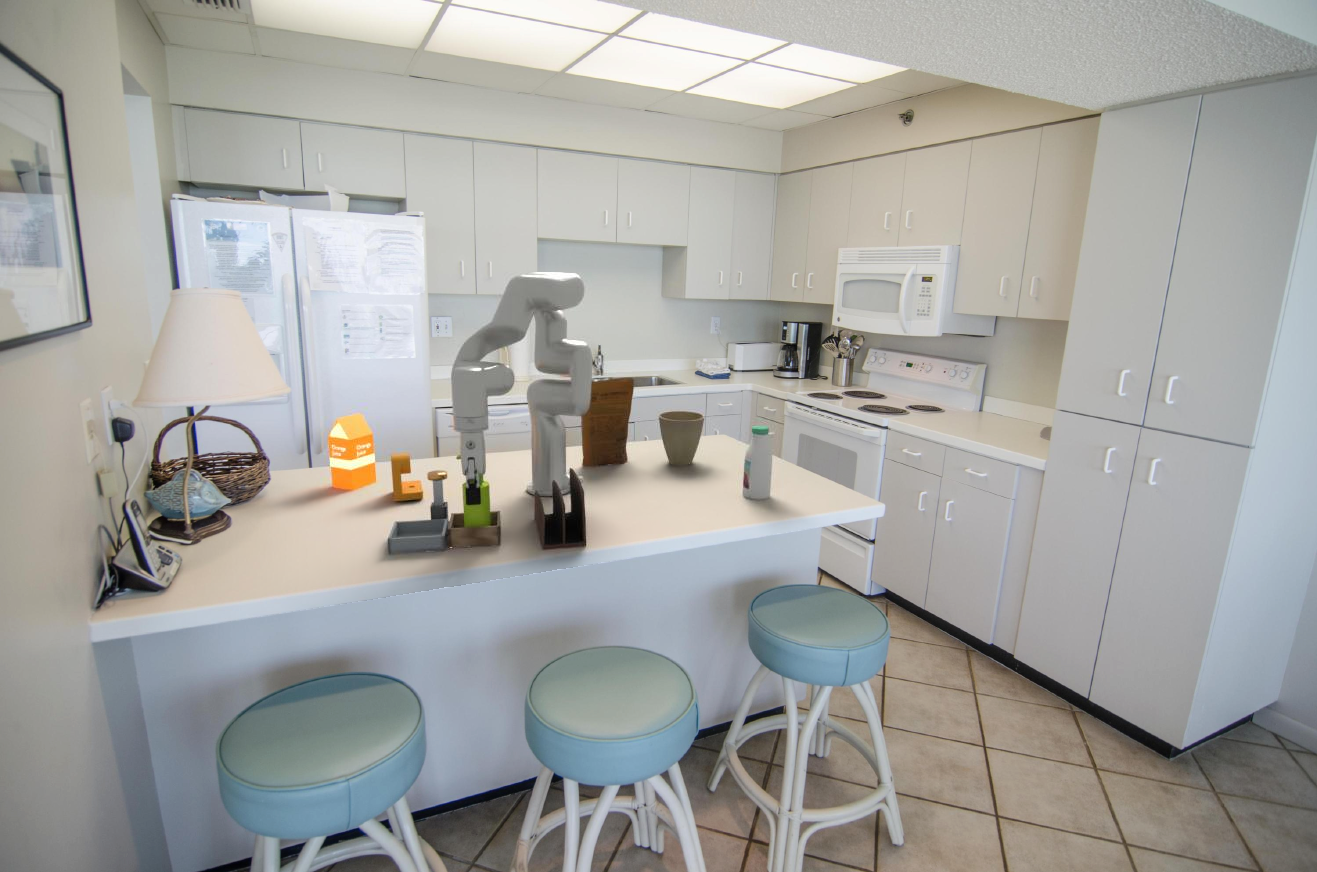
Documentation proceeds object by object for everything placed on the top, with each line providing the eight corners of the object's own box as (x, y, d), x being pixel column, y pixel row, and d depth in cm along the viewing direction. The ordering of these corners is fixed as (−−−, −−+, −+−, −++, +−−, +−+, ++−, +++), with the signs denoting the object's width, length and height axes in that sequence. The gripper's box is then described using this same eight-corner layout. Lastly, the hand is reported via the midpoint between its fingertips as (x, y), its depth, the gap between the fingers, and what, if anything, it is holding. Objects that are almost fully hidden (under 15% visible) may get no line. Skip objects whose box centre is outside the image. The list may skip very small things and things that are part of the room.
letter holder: (573, 516, 171) (573, 463, 168) (586, 546, 153) (586, 487, 149) (533, 519, 169) (532, 465, 165) (542, 550, 150) (541, 490, 147)
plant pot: (660, 455, 230) (661, 409, 226) (704, 458, 228) (706, 412, 224) (654, 467, 215) (655, 418, 212) (700, 470, 213) (702, 421, 210)
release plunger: (450, 519, 163) (447, 470, 160) (448, 526, 159) (446, 475, 156) (431, 520, 162) (428, 470, 159) (429, 527, 158) (426, 476, 155)
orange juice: (331, 486, 189) (325, 417, 184) (356, 478, 197) (350, 411, 192) (353, 490, 186) (347, 420, 181) (377, 482, 194) (371, 414, 189)
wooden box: (500, 528, 162) (500, 510, 161) (500, 545, 152) (500, 526, 151) (452, 531, 159) (451, 513, 158) (449, 548, 150) (448, 529, 149)
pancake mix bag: (637, 463, 220) (639, 378, 213) (583, 470, 211) (583, 381, 204) (628, 457, 226) (629, 375, 219) (575, 464, 216) (575, 378, 210)
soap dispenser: (463, 533, 158) (459, 451, 154) (493, 533, 159) (490, 451, 154) (458, 543, 152) (453, 458, 148) (489, 542, 153) (485, 458, 148)
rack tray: (448, 532, 158) (447, 518, 158) (445, 550, 148) (444, 535, 147) (396, 535, 156) (395, 521, 155) (388, 554, 146) (387, 539, 145)
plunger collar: (451, 523, 164) (450, 500, 162) (450, 531, 159) (449, 507, 158) (430, 525, 163) (429, 501, 161) (428, 532, 158) (426, 508, 157)
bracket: (423, 501, 179) (420, 458, 176) (394, 504, 177) (391, 460, 174) (421, 489, 189) (418, 448, 186) (393, 491, 186) (390, 450, 183)
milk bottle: (773, 494, 192) (777, 426, 187) (765, 502, 185) (770, 431, 181) (747, 490, 195) (751, 422, 190) (738, 497, 188) (742, 428, 184)
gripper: (487, 430, 142) (490, 511, 146) (489, 414, 158) (491, 487, 162) (450, 431, 140) (454, 513, 144) (455, 414, 156) (459, 488, 161)
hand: (474, 498), depth 153 cm, fingers closed on soap dispenser, 5 cm apart
